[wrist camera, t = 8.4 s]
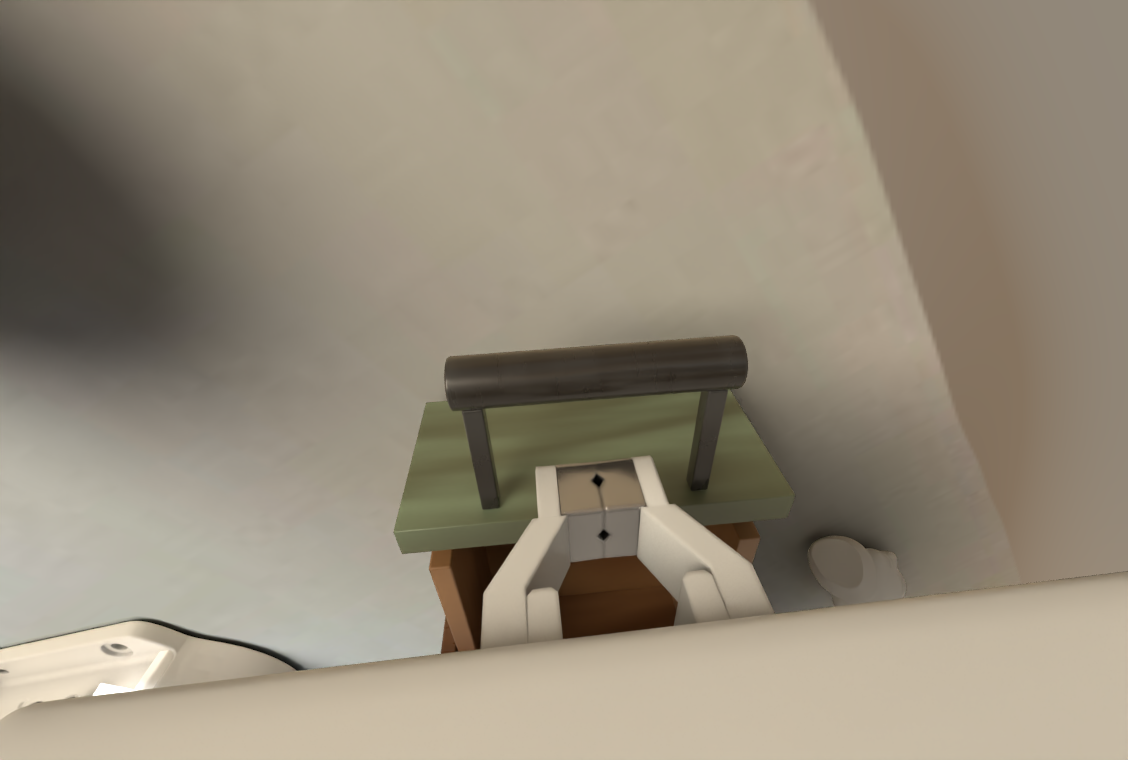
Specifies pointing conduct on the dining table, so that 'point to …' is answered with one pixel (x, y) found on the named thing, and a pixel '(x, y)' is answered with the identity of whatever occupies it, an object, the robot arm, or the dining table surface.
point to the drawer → (578, 435)
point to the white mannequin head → (855, 571)
